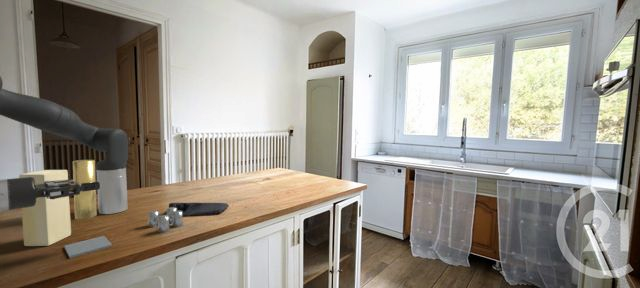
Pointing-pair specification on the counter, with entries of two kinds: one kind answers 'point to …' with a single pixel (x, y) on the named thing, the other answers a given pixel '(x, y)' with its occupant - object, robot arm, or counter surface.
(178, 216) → the steel spacer
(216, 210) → the dark slate chunk
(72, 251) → the slate pad
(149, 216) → the steel spacer
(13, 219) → the counter surface
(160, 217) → the steel spacer
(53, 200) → the cream rectangular block
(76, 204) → the brass sleeve
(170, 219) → the steel spacer
